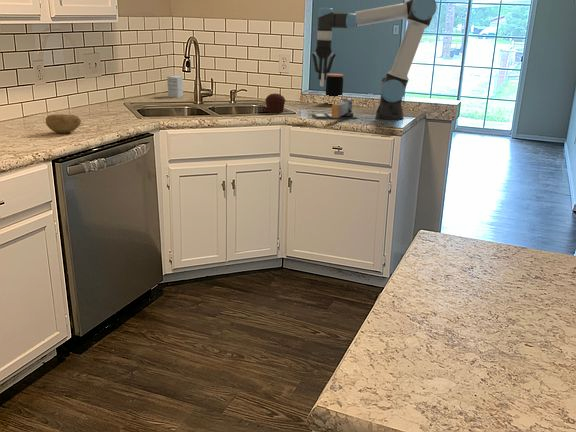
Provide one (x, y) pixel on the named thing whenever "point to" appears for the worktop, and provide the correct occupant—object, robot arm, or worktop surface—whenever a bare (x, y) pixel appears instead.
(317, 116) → the label tile
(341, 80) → the coffee jar
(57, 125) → the brown bowl
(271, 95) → the muffin
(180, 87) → the supplement box
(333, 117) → the label tile
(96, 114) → the worktop surface
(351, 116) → the pivot plinth
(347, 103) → the swing arm
